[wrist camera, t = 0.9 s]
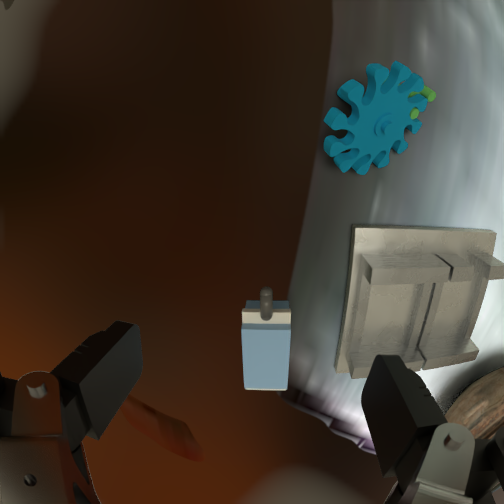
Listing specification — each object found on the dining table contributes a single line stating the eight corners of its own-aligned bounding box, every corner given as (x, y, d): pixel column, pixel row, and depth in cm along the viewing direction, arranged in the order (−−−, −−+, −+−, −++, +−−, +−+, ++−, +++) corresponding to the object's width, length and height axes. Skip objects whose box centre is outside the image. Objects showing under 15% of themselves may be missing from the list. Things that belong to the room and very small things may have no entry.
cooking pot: (525, 377, 30) (554, 417, 19) (452, 442, 36) (470, 488, 24) (495, 312, 26) (547, 367, 15) (392, 408, 32) (415, 478, 21)
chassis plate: (352, 224, 25) (367, 239, 20) (490, 230, 23) (515, 243, 19) (334, 366, 30) (340, 395, 25) (456, 352, 28) (472, 373, 24)
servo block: (245, 266, 27) (239, 290, 22) (289, 266, 26) (292, 291, 22) (248, 363, 31) (244, 395, 26) (285, 364, 30) (286, 396, 26)
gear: (340, 199, 22) (322, 99, 14) (304, 155, 25) (274, 64, 17) (433, 145, 21) (445, 53, 13) (393, 110, 24) (388, 25, 16)
